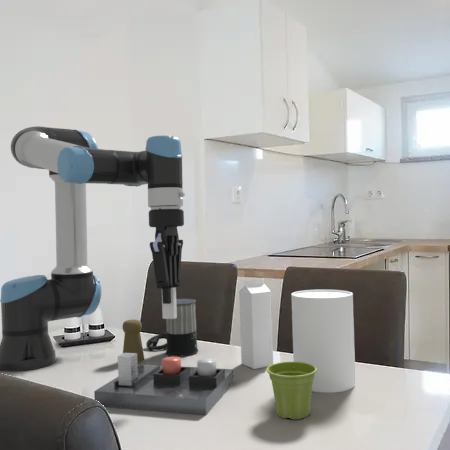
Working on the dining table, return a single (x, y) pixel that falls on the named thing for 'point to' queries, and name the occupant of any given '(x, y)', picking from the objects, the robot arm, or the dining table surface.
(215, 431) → the dining table surface
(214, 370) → the grey button
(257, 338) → the milk
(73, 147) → the robot arm
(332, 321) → the canister
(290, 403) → the plant pot
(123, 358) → the toggle
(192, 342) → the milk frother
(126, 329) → the cork
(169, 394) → the panel
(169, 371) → the button
